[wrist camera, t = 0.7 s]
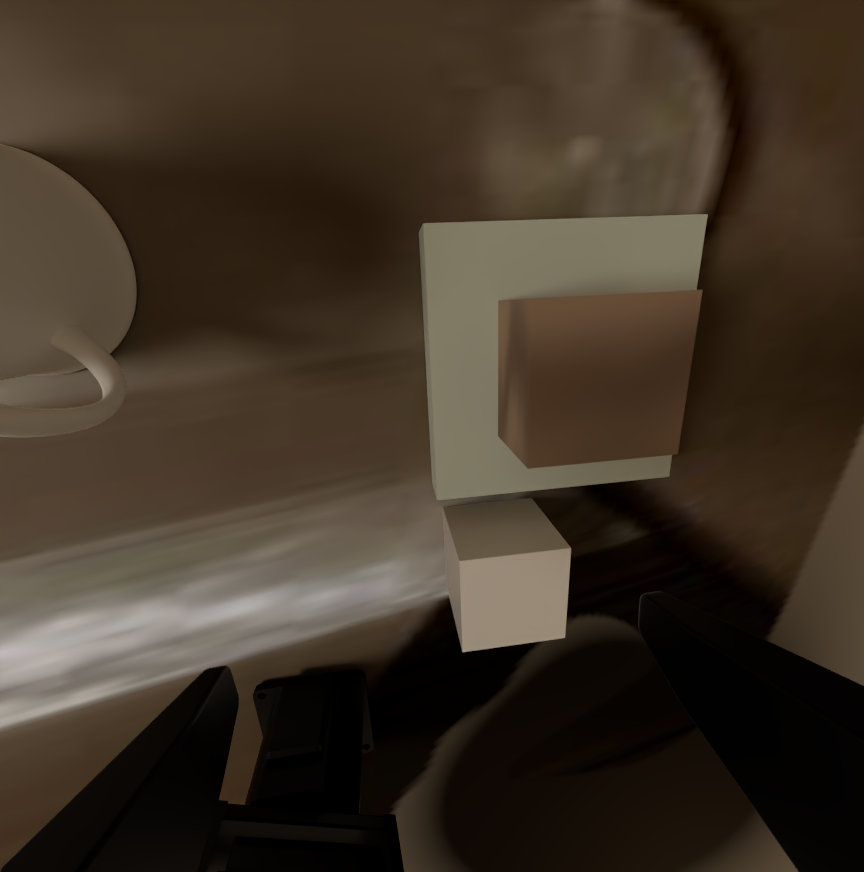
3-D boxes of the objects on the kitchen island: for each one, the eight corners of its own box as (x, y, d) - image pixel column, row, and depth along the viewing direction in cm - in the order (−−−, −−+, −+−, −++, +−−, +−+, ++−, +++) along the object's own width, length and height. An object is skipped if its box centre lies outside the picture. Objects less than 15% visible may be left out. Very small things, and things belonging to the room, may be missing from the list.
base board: (644, 462, 22) (669, 476, 20) (432, 483, 21) (437, 500, 19) (674, 223, 19) (707, 214, 17) (418, 232, 17) (423, 223, 16)
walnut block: (619, 425, 19) (677, 454, 15) (497, 436, 19) (527, 468, 15) (632, 293, 17) (702, 289, 14) (498, 300, 17) (532, 298, 13)
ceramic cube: (528, 572, 24) (565, 637, 19) (446, 582, 23) (462, 652, 19) (530, 497, 22) (571, 548, 18) (442, 506, 22) (459, 561, 17)
